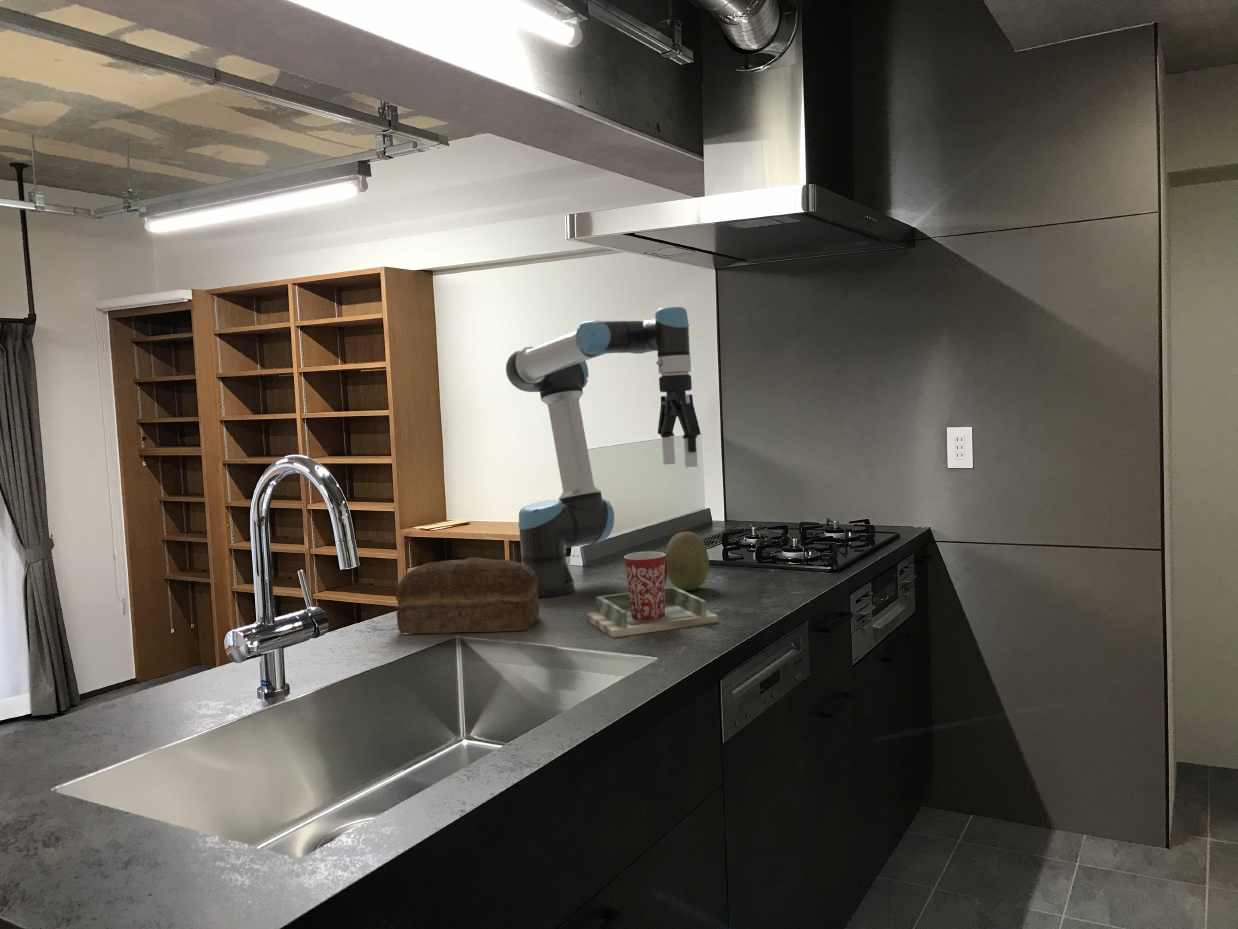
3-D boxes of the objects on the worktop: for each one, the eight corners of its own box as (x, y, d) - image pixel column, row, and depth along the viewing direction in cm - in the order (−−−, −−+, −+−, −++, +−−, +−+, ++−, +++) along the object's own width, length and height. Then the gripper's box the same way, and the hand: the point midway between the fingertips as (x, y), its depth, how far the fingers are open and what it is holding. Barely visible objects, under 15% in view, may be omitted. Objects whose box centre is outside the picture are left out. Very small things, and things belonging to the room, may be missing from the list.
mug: (654, 622, 201) (651, 559, 200) (619, 619, 206) (615, 557, 205) (685, 610, 211) (682, 549, 210) (651, 606, 216) (647, 547, 215)
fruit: (658, 589, 244) (655, 531, 242) (697, 583, 248) (694, 526, 247) (678, 596, 233) (675, 536, 232) (719, 590, 237) (715, 531, 236)
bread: (413, 621, 225) (408, 555, 224) (546, 617, 221) (541, 549, 220) (391, 637, 210) (385, 566, 209) (532, 632, 206) (527, 560, 205)
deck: (587, 620, 214) (585, 598, 214) (685, 606, 222) (684, 585, 221) (612, 637, 197) (610, 613, 197) (717, 622, 205) (716, 599, 204)
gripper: (641, 377, 232) (646, 464, 234) (680, 373, 208) (685, 469, 210) (670, 375, 234) (674, 461, 236) (711, 371, 211) (716, 466, 212)
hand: (680, 465), depth 223 cm, fingers open, 13 cm apart
